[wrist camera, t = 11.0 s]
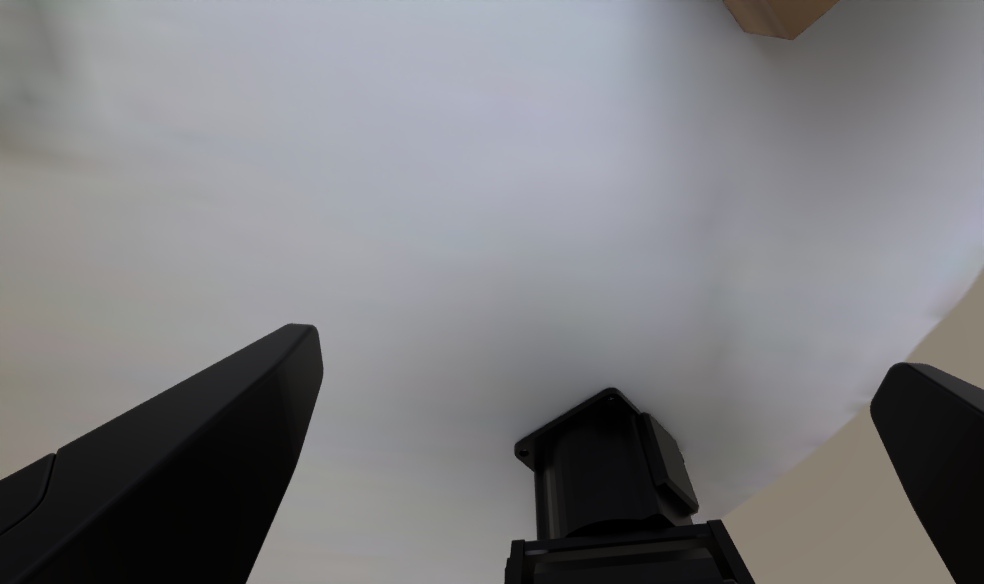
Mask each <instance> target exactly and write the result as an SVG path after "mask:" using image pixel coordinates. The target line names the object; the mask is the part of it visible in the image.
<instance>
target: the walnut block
mask: <svg viewBox="0 0 984 584" xmlns="http://www.w3.org/2000/svg"><path fill="white" fill-rule="evenodd" d="M838 1H839V0H723V2H724V3H725V5H726V6H727V7H728V9H729V10H730V12H731V13H732V15H733V16H734V18H735V19H736V21H737V22H738V24H739V25H740V26H741V28H742V29H743V31H744V32H748V33H754V34H760V35H766V36H772V37H778V38H783V39H789V40H793V39H794V38H796V37H797V36H798V35H799V34H800V33H802V32H803V31H804V30H805V29H806V28H807V27H809V26H810V25H811V24H812V23H813V22H815V21H816V20H817V19H818V18H819V17H820V16H822V15H823V14H824V13H825V12H826V11H828V10H829V9H830V8H831V7H832V6H833V5H835V4H836V3H837V2H838Z"/></svg>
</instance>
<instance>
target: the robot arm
mask: <svg viewBox="0 0 984 584" xmlns="http://www.w3.org/2000/svg"><path fill="white" fill-rule="evenodd" d="M322 379H323V361H322V354H321V347H320V340H319V334H318V331H317V328H316V327H315V326H313V325H308V324H293V323H291V324H287V325H285V326H283V327H281V328H279V329H278V330H276V331H274V332H272V333H270V334H268V335H267V336H265V337H263V338H261V339H259V340H257V341H256V342H254V343H252V344H250V345H248V346H246V347H245V348H243V349H241V350H239V351H237V352H235V353H234V354H232V355H230V356H228V357H226V358H224V359H223V360H221V361H219V362H217V363H215V364H213V365H212V366H210V367H208V368H206V369H204V370H202V371H201V372H199V373H197V374H195V375H193V376H191V377H190V378H188V379H186V380H184V381H182V382H180V383H179V384H177V385H175V386H173V387H171V388H169V389H168V390H166V391H164V392H162V393H160V394H158V395H157V396H155V397H153V398H151V399H149V400H147V401H146V402H144V403H142V404H140V405H138V406H136V407H135V408H133V409H131V410H129V411H127V412H125V413H124V414H122V415H120V416H118V417H116V418H114V419H113V420H111V421H109V422H107V423H105V424H103V425H102V426H100V427H98V428H96V429H94V430H92V431H91V432H89V433H87V434H85V435H83V436H81V437H80V438H78V439H76V440H74V441H72V442H70V443H69V444H67V445H65V446H63V447H61V448H60V449H58V451H57V453H56V454H54V453H50V454H48V455H46V456H44V457H43V458H41V459H39V460H37V461H35V462H34V463H32V464H30V465H28V466H26V467H24V468H23V469H21V470H19V471H17V472H15V473H13V474H11V475H10V476H8V477H6V478H4V479H2V480H0V584H246V582H247V580H248V577H249V575H250V573H251V570H252V568H253V566H254V563H255V561H256V559H257V557H258V554H259V552H260V550H261V547H262V545H263V543H264V540H265V538H266V536H267V534H268V531H269V529H270V527H271V524H272V522H273V520H274V517H275V515H276V513H277V510H278V508H279V506H280V504H281V501H282V499H283V497H284V494H285V492H286V490H287V487H288V485H289V483H290V480H291V478H292V475H293V473H294V470H295V468H296V465H297V462H298V459H299V456H300V453H301V450H302V446H303V443H304V440H305V436H306V433H307V430H308V426H309V423H310V420H311V417H312V413H313V410H314V407H315V403H316V400H317V397H318V393H319V390H320V387H321V383H322ZM611 397H614V399H612V400H608V399H609V398H611ZM870 413H871V417H872V420H873V422H874V424H875V427H876V429H877V431H878V433H879V435H880V438H881V440H882V442H883V444H884V446H885V448H886V451H887V453H888V455H889V457H890V460H891V462H892V464H893V466H894V468H895V470H896V473H897V475H898V477H899V479H900V481H901V484H902V486H903V488H904V490H905V492H906V495H907V497H908V498H909V501H910V503H911V505H912V507H913V509H914V511H915V512H916V514H917V516H918V518H919V520H920V522H921V523H922V525H923V527H924V528H925V530H926V532H927V534H928V536H929V537H930V539H931V541H932V542H933V544H934V546H935V548H936V549H937V551H938V553H939V555H940V556H941V558H942V560H943V561H944V563H945V565H946V567H947V569H948V570H949V572H950V574H951V576H952V577H953V579H954V581H955V582H956V584H984V390H983V389H981V388H978V387H976V386H974V385H972V384H970V383H967V382H965V381H963V380H961V379H959V378H957V377H955V376H952V375H950V374H948V373H946V372H944V371H942V370H939V369H937V368H935V367H933V366H930V365H927V364H921V363H905V362H900V363H897V364H895V365H893V366H892V367H891V368H890V369H889V370H888V372H887V374H886V376H885V378H884V379H883V381H882V383H881V385H880V387H879V388H878V390H877V392H876V394H875V396H874V397H873V399H872V401H871V405H870ZM522 450H526V451H522ZM514 453H515V456H516V457H517V458H518V459H519V460H520V461H521V462H523V463H524V464H525V465H526V466H527V467H529V468H530V469H531V470H532V471H533V472H534V480H535V503H536V526H537V540H535V541H525V540H524V539H523V540H513V541H512V544H511V553H510V558H507V564H506V568H505V582H504V584H755V582H754V580H753V578H752V576H751V575H750V573H749V571H748V569H747V567H746V565H745V564H744V562H743V560H742V558H741V556H740V554H739V553H738V550H737V549H736V547H735V545H734V543H733V541H732V539H731V538H730V536H729V534H728V532H727V530H726V528H725V526H724V525H723V523H722V521H721V519H720V520H710V521H707V523H704V524H694V525H693V522H692V519H691V515H693V514H696V513H697V512H698V508H699V504H698V501H697V499H696V496H695V493H694V490H693V488H692V485H691V482H690V479H689V477H688V474H687V471H686V468H685V465H684V459H683V456H682V454H681V453H680V452H679V449H678V446H677V443H676V441H675V440H674V439H673V438H672V437H671V436H670V435H669V434H668V433H667V432H666V430H665V429H664V428H663V427H662V426H661V425H660V424H659V423H658V422H657V421H656V420H655V419H654V418H653V417H652V416H651V415H650V414H648V413H645V412H643V413H641V412H640V411H639V410H638V409H637V408H636V407H635V406H634V405H633V404H632V403H631V402H630V401H629V400H628V399H627V398H626V397H625V396H624V395H623V394H622V393H621V392H620V391H619V390H617V389H615V388H607V389H605V390H603V391H602V392H600V393H598V394H597V395H595V396H593V397H592V398H590V399H588V400H587V401H585V402H583V403H582V404H580V405H578V406H577V407H575V408H573V409H572V410H570V411H568V412H567V413H565V414H563V415H562V416H560V417H559V418H557V419H555V420H554V421H552V422H550V423H549V424H547V425H545V426H544V427H542V428H540V429H539V430H537V431H535V432H534V433H532V434H530V435H529V436H527V437H525V438H524V439H522V440H520V441H519V442H517V443H516V444H515V447H514Z"/></svg>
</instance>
